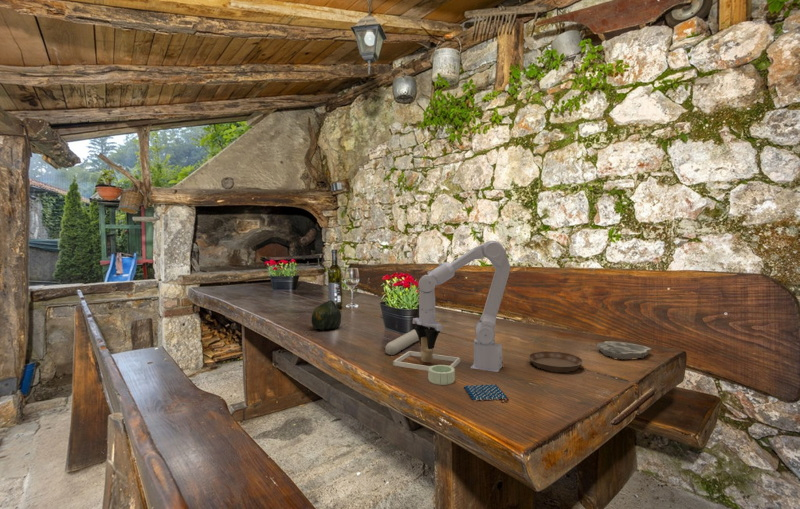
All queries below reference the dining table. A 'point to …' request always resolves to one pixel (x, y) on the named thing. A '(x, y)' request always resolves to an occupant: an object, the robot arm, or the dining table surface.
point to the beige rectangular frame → (423, 367)
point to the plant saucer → (555, 361)
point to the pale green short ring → (441, 374)
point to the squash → (326, 316)
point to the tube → (401, 343)
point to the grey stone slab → (623, 350)
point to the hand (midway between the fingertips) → (427, 347)
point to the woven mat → (485, 393)
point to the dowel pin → (426, 351)
